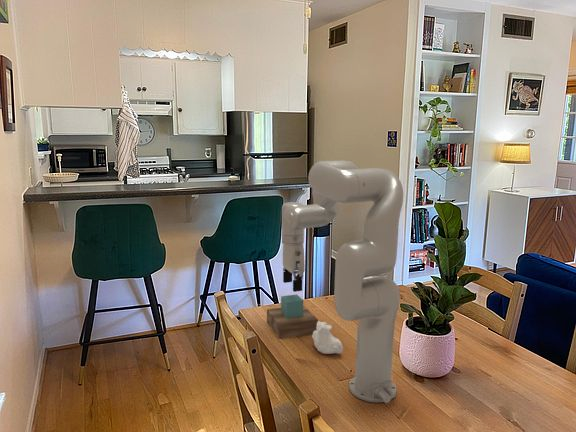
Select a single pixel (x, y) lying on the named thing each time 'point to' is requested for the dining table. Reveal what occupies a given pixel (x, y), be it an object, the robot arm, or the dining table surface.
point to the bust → (326, 339)
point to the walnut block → (291, 323)
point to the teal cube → (291, 306)
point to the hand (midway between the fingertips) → (292, 286)
